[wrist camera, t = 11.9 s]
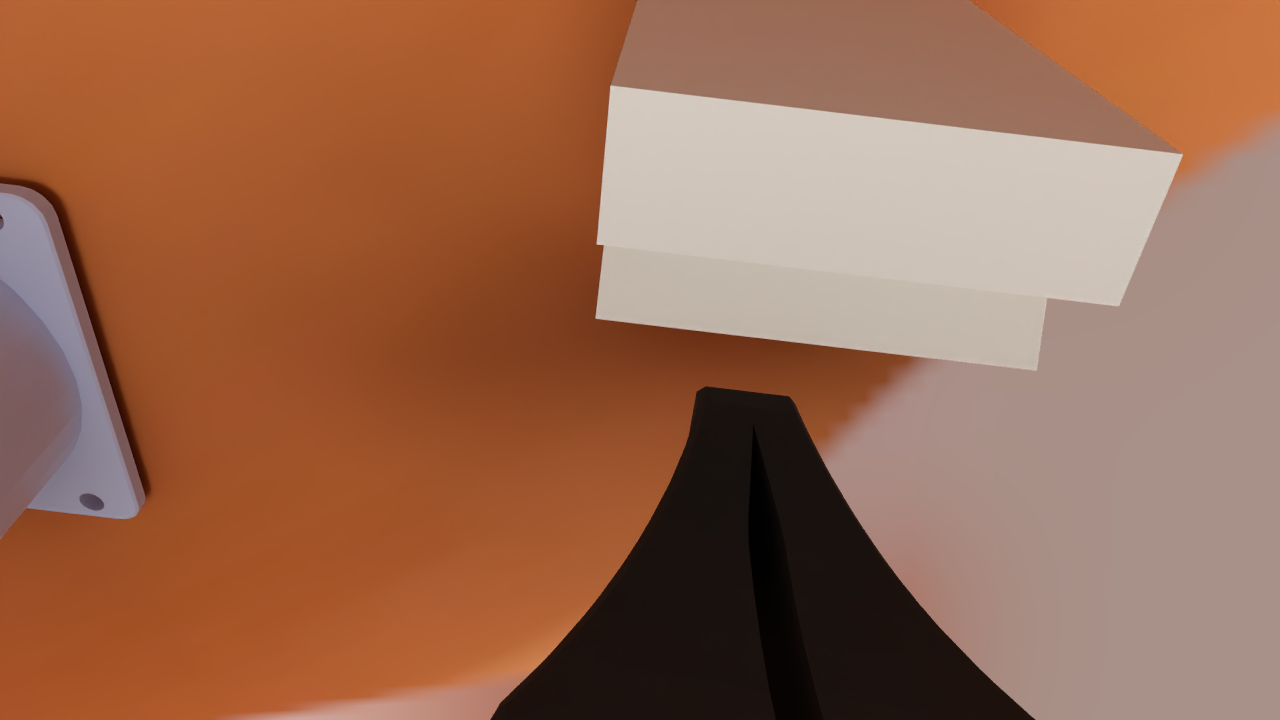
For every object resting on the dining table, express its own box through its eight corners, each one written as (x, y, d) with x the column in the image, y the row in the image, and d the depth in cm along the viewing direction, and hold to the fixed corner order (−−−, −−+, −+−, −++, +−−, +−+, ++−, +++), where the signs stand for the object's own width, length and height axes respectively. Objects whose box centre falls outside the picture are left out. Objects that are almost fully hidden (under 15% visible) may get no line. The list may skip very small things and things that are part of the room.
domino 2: (616, 311, 16) (596, 318, 8) (625, 243, 16) (610, 184, 8) (842, 338, 16) (1037, 371, 8) (851, 270, 16) (1055, 237, 8)
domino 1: (647, 27, 14) (596, 245, 7) (656, -60, 13) (609, 86, 6) (911, 59, 14) (1118, 307, 7) (932, -26, 13) (1183, 155, 6)
